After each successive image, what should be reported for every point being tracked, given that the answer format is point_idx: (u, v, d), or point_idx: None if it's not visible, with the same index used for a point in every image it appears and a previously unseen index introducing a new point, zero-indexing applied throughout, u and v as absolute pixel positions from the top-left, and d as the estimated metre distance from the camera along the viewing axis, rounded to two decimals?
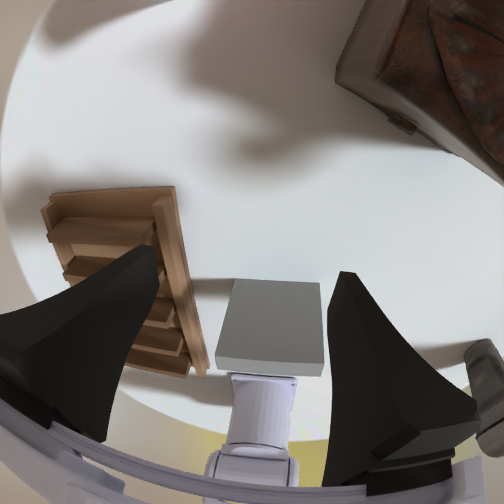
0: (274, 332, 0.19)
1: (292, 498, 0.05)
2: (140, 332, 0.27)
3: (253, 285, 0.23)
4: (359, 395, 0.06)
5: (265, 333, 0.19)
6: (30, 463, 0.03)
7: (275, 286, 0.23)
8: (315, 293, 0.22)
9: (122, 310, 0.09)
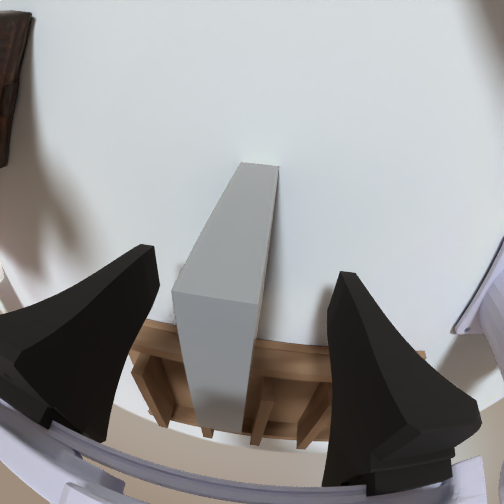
0: None
1: (292, 498, 0.05)
2: (311, 412, 0.19)
3: None
4: (359, 395, 0.06)
5: None
6: (30, 463, 0.03)
7: None
8: None
9: (122, 310, 0.09)
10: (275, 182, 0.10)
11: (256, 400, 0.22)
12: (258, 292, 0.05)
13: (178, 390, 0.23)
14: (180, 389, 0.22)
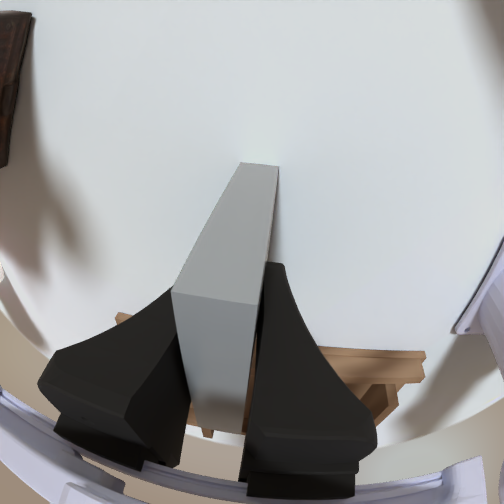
0: None
1: (292, 498, 0.05)
2: None
3: None
4: None
5: None
6: (30, 463, 0.03)
7: None
8: None
9: None
10: (275, 182, 0.10)
11: None
12: (258, 293, 0.05)
13: None
14: None
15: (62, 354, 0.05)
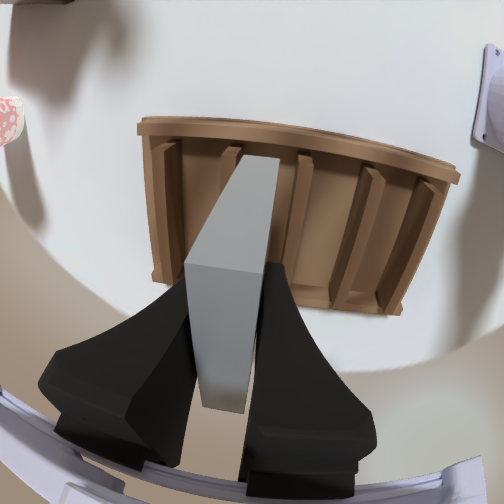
0: None
1: (292, 498, 0.05)
2: (349, 233, 0.18)
3: None
4: (253, 387, 0.07)
5: None
6: (30, 463, 0.03)
7: None
8: None
9: None
10: (276, 172, 0.11)
11: (283, 234, 0.21)
12: (262, 264, 0.06)
13: (192, 232, 0.22)
14: (195, 227, 0.21)
15: (63, 354, 0.05)
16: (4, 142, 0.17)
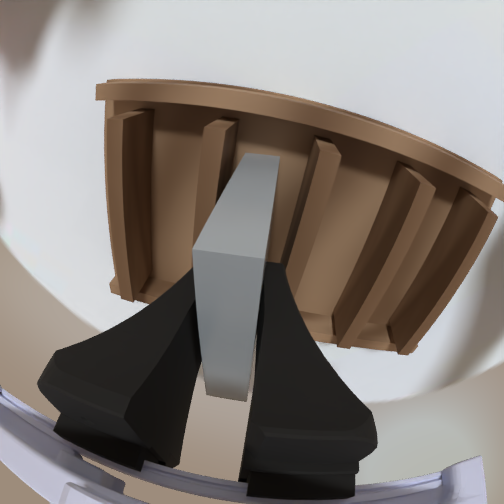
0: None
1: (292, 498, 0.05)
2: (371, 254, 0.13)
3: None
4: (253, 387, 0.07)
5: None
6: (30, 463, 0.03)
7: None
8: None
9: None
10: (277, 169, 0.11)
11: (282, 247, 0.16)
12: (264, 250, 0.06)
13: (162, 235, 0.16)
14: (165, 229, 0.16)
15: (62, 354, 0.05)
16: None
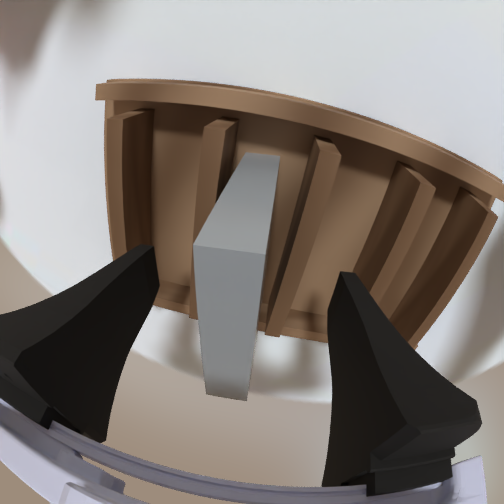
0: None
1: (292, 498, 0.05)
2: (371, 254, 0.13)
3: None
4: (359, 395, 0.06)
5: None
6: (30, 463, 0.03)
7: None
8: None
9: (122, 310, 0.09)
10: (277, 168, 0.11)
11: (282, 247, 0.16)
12: (265, 246, 0.06)
13: (161, 235, 0.16)
14: (165, 229, 0.16)
15: None
16: None
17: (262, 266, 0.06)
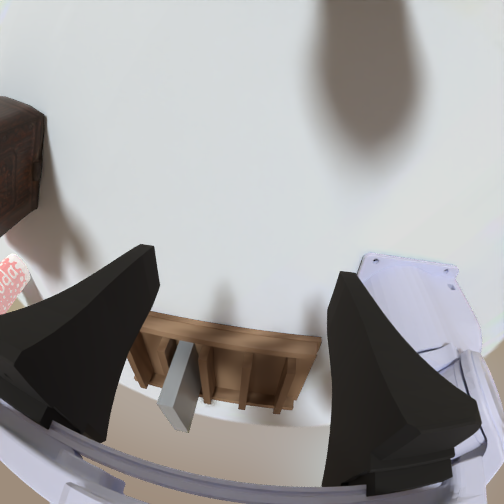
0: None
1: (292, 498, 0.05)
2: None
3: None
4: (359, 395, 0.06)
5: None
6: (30, 463, 0.03)
7: None
8: None
9: (122, 310, 0.09)
10: (188, 356, 0.27)
11: None
12: (173, 404, 0.23)
13: (154, 360, 0.32)
14: (155, 358, 0.32)
15: None
16: None
17: (173, 408, 0.22)
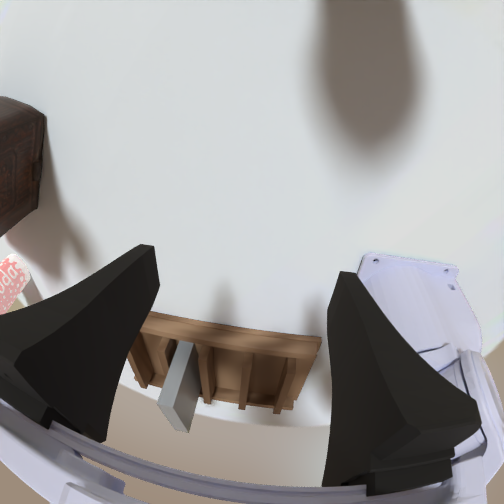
0: None
1: (292, 498, 0.05)
2: None
3: None
4: (359, 395, 0.06)
5: None
6: (30, 463, 0.03)
7: None
8: None
9: (122, 310, 0.09)
10: (188, 356, 0.27)
11: None
12: (173, 404, 0.23)
13: (154, 360, 0.32)
14: (155, 358, 0.32)
15: None
16: None
17: (173, 408, 0.22)
